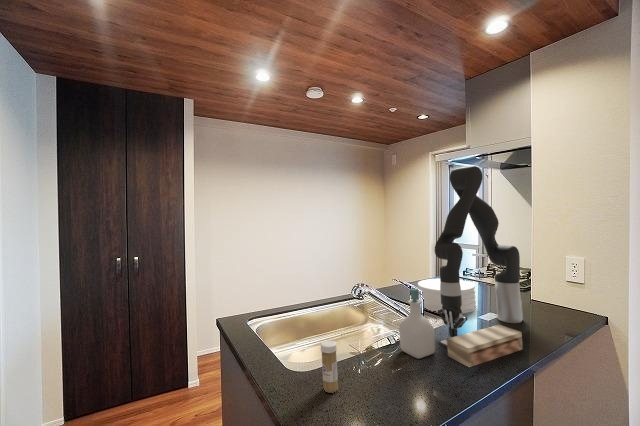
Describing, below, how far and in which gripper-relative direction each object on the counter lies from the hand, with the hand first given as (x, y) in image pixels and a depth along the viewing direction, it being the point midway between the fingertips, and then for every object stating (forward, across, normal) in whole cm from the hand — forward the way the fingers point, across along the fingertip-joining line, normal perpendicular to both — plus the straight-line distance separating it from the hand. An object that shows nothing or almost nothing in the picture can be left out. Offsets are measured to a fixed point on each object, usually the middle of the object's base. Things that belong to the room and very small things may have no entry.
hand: (453, 337), depth 114 cm
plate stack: (+1, +33, -30) cm, 44 cm away
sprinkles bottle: (+1, -9, +57) cm, 58 cm away
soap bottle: (+1, -3, +20) cm, 20 cm away
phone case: (+1, -5, +1) cm, 6 cm away
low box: (0, -14, 0) cm, 14 cm away
